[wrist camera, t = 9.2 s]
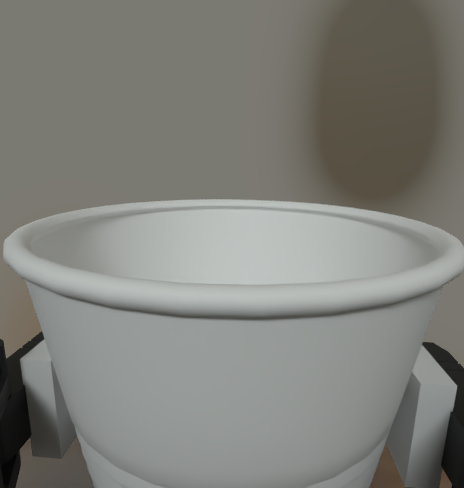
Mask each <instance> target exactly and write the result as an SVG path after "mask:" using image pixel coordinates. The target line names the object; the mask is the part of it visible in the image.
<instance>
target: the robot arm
mask: <svg viewBox="0 0 464 488" xmlns="http://www.w3.org/2000/svg"><path fill="white" fill-rule="evenodd" d="M76 436H77V434H76V430H75V426H74V424H73V422H72V421H71V418H70V415H69V412H68V409H67V406H66V403H65V400H64V396H63V393H62V390H61V387H60V384H59V381H58V378H57V375H56V372H55V369H54V366H53V363H52V360H51V357H50V354H49V351H48V348H47V345H46V342H45V339H44V336H43V333H42V332H41V333H39V334H38V335H36V336H35V337H34V338H33V339H32V340H31V341H29V342H28V343H26V344H25V345H24V346H23V347H22V348H20V349H19V350H17V351H16V352H15V353H14V354H12V355H11V356H10V357H8V358H7V359H6V357H5V350H4V343H3V340H1V339H0V488H15V487H16V483H17V479H18V474H19V470H20V466H21V460H20V452H19V450H20V448H21V447H22V446H23V445H24V444H25V442H26V441H27V440H28V439H29V438H30V439H31V446H32V453H33V456H36V457H49V458H61V459H62V457H63V456H64V454H65V453H66V451H67V450H68V448H69V447H70V445H71V444H72V442H73V441H74V439H75V438H76ZM386 444H387V446H388V449H389V451H390V453H391V456H392V458H393V460H394V463H395V465H396V467H397V470H398V472H399V474H400V476H401V479H402V481H403V483H404V486H405V487H415V488H439V485H440V479H441V474H442V468H443V469H444V471H445V473H446V475H447V476H448V478H449V480H450V481H451V483H452V488H464V368H463V367H462V366H461V365H460V364H458V362H457V361H456V360H455V359H454V358H453V356H452V355H451V354H450V353H449V352H448V351H446V350H444V349H442V348H441V347H439V346H437V345H436V344H434V343H429V342H423V343H422V346H421V348H420V351H419V354H418V357H417V359H416V362H415V365H414V368H413V370H412V373H411V376H410V379H409V381H408V384H407V387H406V390H405V392H404V395H403V398H402V401H401V403H400V406H399V409H398V412H397V414H396V417H395V419H394V421H393V424H392V426H391V430H390V432H389V435H388V437H387V440H386Z"/></svg>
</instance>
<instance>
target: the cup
mask: <svg viewBox="0 0 464 488" xmlns="http://www.w3.org/2000/svg"><path fill="white" fill-rule="evenodd" d="M3 259H4V261H5V262H6V263H7V264H8V266H10V267H11V268H12V269H13V270H14V271H15V272H16V273H17V274H18V275H19V276H20V277H21V278H22V279H25V281H26V284H27V287H28V290H29V293H30V296H31V299H32V302H33V305H34V308H35V311H36V314H37V317H38V320H39V323H40V326H41V329H42V333H43V336H44V339H45V342H46V345H47V348H48V351H49V354H50V357H51V360H52V363H53V366H54V369H55V372H56V375H57V378H58V381H59V384H60V387H61V390H62V393H63V396H64V400H65V403H66V406H67V409H68V412H69V415H70V418H71V421H72V422H73V424H74V426H75V430H76V434H77V438H78V440H79V442H80V445H81V449H82V453H83V456H84V458H85V460H86V464H87V468H88V471H89V474H90V476H91V479H92V483H93V487H94V488H369V487H370V485H371V482H372V480H373V475H374V473H375V470H376V468H377V466H378V463H379V459H380V456H381V454H382V452H383V449H384V447H385V442H386V440H387V437H388V435H389V432H390V430H391V426H392V424H393V421H394V419H395V417H396V414H397V412H398V409H399V406H400V403H401V401H402V398H403V395H404V392H405V390H406V387H407V384H408V381H409V379H410V376H411V373H412V370H413V368H414V365H415V362H416V359H417V357H418V354H419V351H420V348H421V346H422V343H423V340H424V337H425V335H426V332H427V329H428V326H429V324H430V321H431V318H432V315H433V313H434V310H435V307H436V305H437V302H438V299H439V296H440V294H441V291H442V288H443V286H444V285H445V284H447V283H448V282H450V281H452V280H453V279H455V278H456V277H458V276H459V275H460V274H461V272H462V271H463V269H464V247H463V245H462V244H461V242H460V241H459V240H458V239H457V238H456V237H454V236H452V235H451V234H449V233H447V232H445V231H444V230H442V229H439V228H437V227H434V226H431V225H429V224H426V223H423V222H420V221H416V220H412V219H408V218H404V217H400V216H397V215H391V214H386V213H381V212H376V211H370V210H363V209H356V208H350V207H341V206H333V205H324V204H313V203H302V202H285V201H266V200H229V199H228V200H227V199H225V200H222V199H219V200H218V199H216V200H172V201H152V202H141V203H127V204H118V205H109V206H101V207H94V208H88V209H81V210H76V211H71V212H66V213H61V214H57V215H53V216H50V217H46V218H43V219H40V220H36V221H33V222H31V223H29V224H27V225H25V226H22V227H20V228H18V229H17V230H15V231H14V232H13V233H12V234H11V235H10V236H9V237H8V238H7V239H6V240H5V241H4V251H3Z"/></svg>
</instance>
